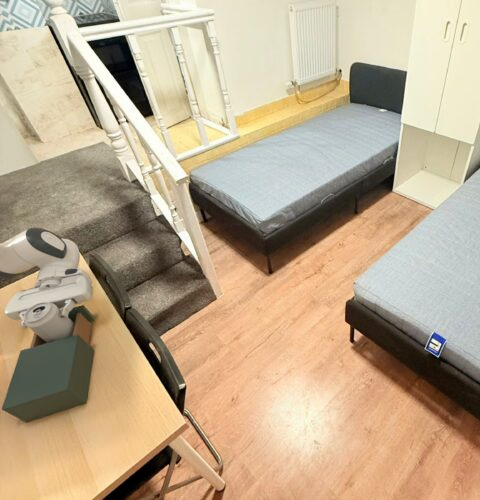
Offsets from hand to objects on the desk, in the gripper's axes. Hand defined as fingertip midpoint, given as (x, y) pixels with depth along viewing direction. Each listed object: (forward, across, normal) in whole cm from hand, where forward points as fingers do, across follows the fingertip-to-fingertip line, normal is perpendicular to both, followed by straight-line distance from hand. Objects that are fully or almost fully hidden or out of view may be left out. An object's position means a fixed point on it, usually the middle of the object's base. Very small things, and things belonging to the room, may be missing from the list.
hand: (44, 321), depth 88 cm
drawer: (0, 0, +11) cm, 11 cm away
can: (-1, 0, +9) cm, 9 cm away
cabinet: (+12, 0, +12) cm, 17 cm away
